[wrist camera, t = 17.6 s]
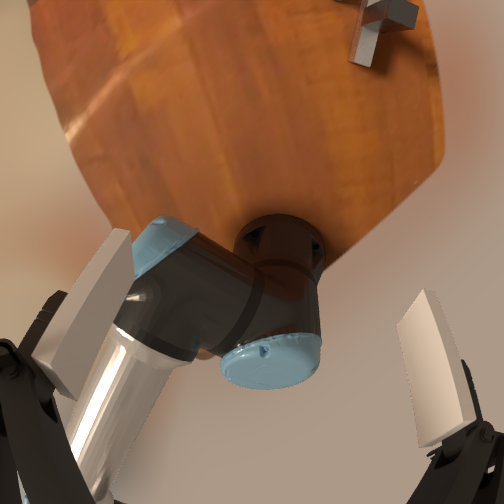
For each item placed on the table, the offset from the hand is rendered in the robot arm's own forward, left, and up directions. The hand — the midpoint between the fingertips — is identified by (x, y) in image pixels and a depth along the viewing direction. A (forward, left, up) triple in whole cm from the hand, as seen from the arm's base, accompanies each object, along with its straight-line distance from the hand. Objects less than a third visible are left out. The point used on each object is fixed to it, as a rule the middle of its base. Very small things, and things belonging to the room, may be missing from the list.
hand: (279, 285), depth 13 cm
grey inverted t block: (+16, -7, -31) cm, 35 cm away
